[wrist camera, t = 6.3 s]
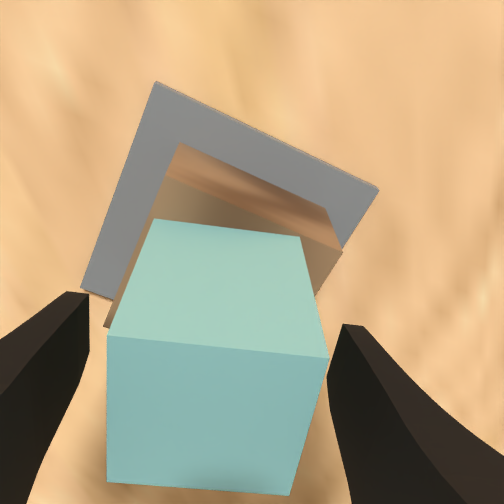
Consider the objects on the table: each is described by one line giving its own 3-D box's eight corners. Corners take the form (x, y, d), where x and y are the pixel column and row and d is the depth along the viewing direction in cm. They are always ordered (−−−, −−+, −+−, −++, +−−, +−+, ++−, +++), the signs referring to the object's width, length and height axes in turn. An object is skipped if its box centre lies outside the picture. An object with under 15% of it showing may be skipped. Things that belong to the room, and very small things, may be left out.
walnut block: (325, 208, 18) (343, 252, 15) (257, 322, 20) (259, 380, 17) (179, 141, 17) (165, 175, 13) (125, 272, 19) (103, 326, 16)
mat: (376, 186, 18) (379, 190, 18) (271, 351, 22) (272, 357, 21) (156, 81, 16) (154, 82, 16) (82, 282, 20) (79, 287, 19)
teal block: (299, 236, 15) (329, 358, 10) (275, 348, 17) (289, 496, 12) (153, 218, 14) (106, 335, 9) (147, 335, 16) (106, 481, 11)
